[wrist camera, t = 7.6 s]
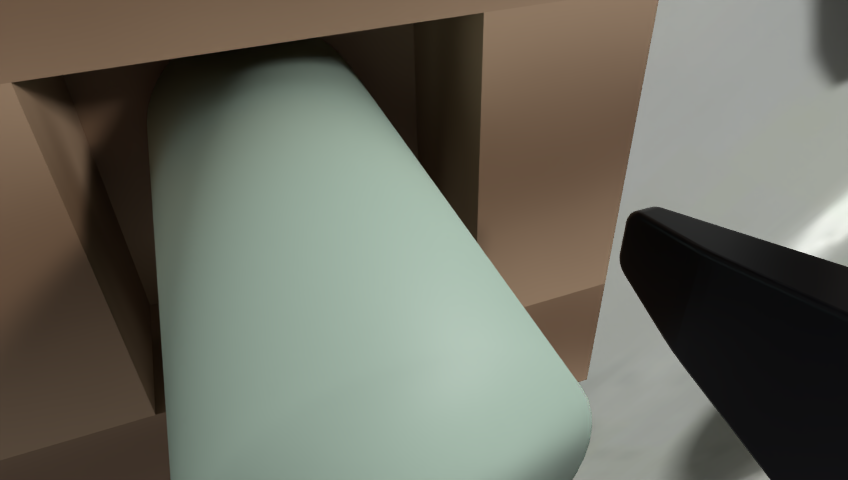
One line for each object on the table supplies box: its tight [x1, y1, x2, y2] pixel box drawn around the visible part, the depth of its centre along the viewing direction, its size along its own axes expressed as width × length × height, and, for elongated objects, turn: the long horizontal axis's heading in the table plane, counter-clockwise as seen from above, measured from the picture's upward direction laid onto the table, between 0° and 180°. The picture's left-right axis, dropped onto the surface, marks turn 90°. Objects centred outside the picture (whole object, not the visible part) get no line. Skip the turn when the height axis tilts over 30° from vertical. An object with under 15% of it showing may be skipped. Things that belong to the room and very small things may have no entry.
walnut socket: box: [0, 0, 659, 480], centre depth 11 cm, size 12×12×4 cm
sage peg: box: [147, 37, 592, 480], centre depth 9 cm, size 4×4×8 cm
